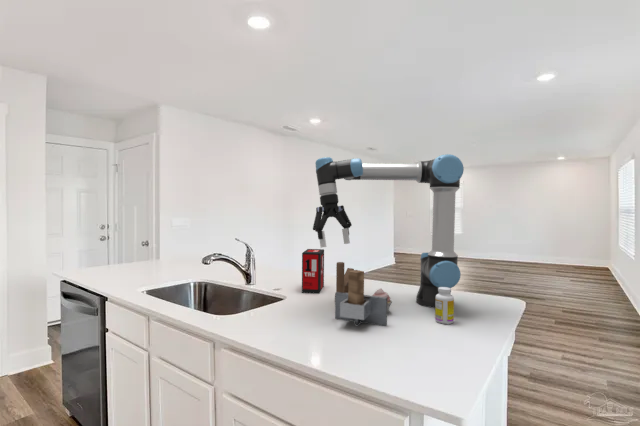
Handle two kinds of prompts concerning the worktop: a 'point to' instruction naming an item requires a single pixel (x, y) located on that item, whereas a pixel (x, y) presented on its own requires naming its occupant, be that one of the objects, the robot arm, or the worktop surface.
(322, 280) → the cleaning product box
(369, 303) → the cup bracket
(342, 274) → the brown wooden piece
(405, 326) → the worktop surface
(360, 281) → the post
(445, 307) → the supplement bottle
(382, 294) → the cupcake
